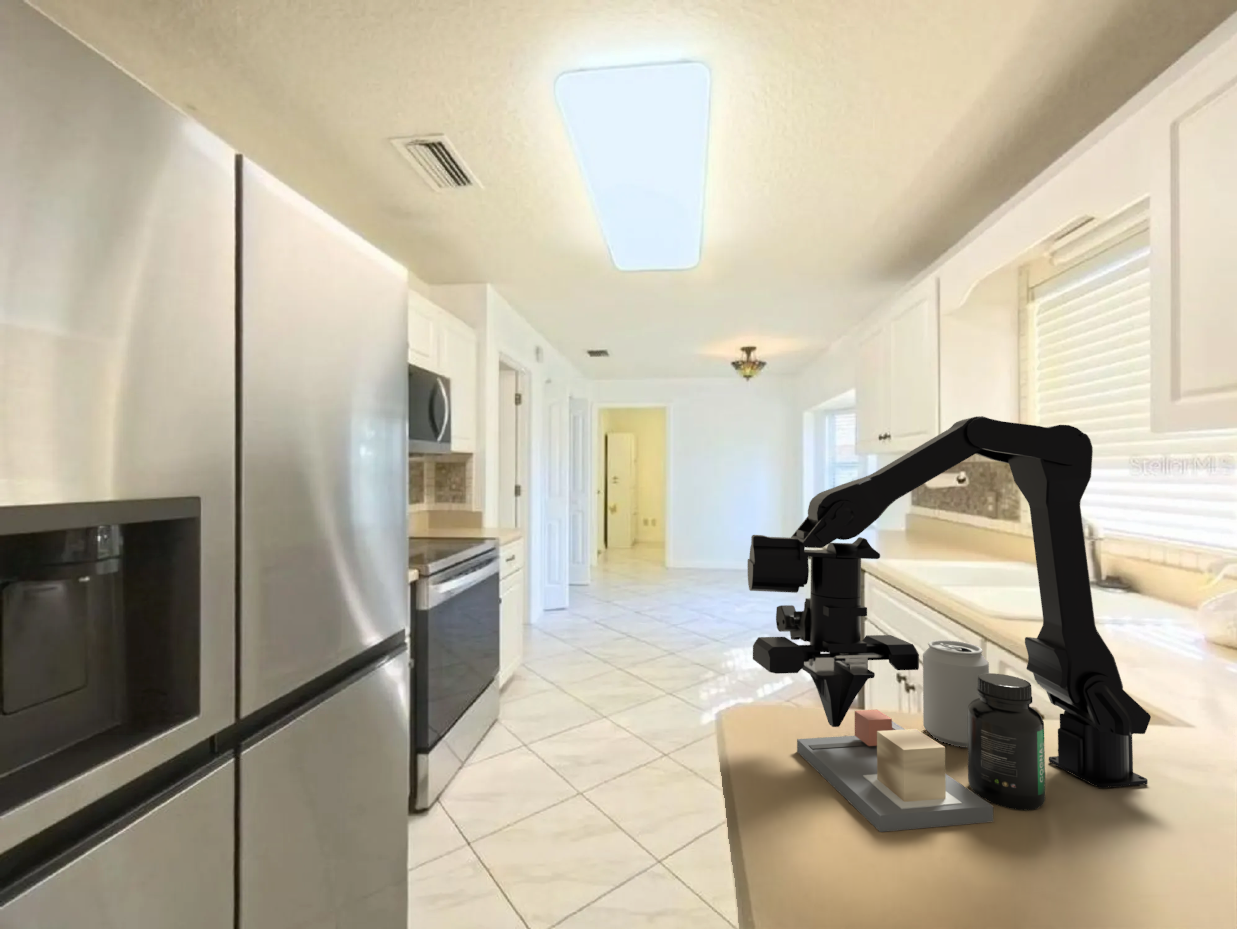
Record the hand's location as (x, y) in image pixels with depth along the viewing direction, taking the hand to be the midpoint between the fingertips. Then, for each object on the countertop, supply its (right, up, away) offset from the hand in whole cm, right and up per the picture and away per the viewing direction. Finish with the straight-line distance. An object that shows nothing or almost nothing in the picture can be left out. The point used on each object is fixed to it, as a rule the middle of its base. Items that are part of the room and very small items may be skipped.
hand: (833, 725), depth 71 cm
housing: (+4, -2, -10) cm, 11 cm away
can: (+18, -5, +6) cm, 20 cm away
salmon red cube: (+5, -2, +1) cm, 5 cm away
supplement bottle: (+15, -4, -8) cm, 18 cm away
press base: (+3, -4, -6) cm, 8 cm away
